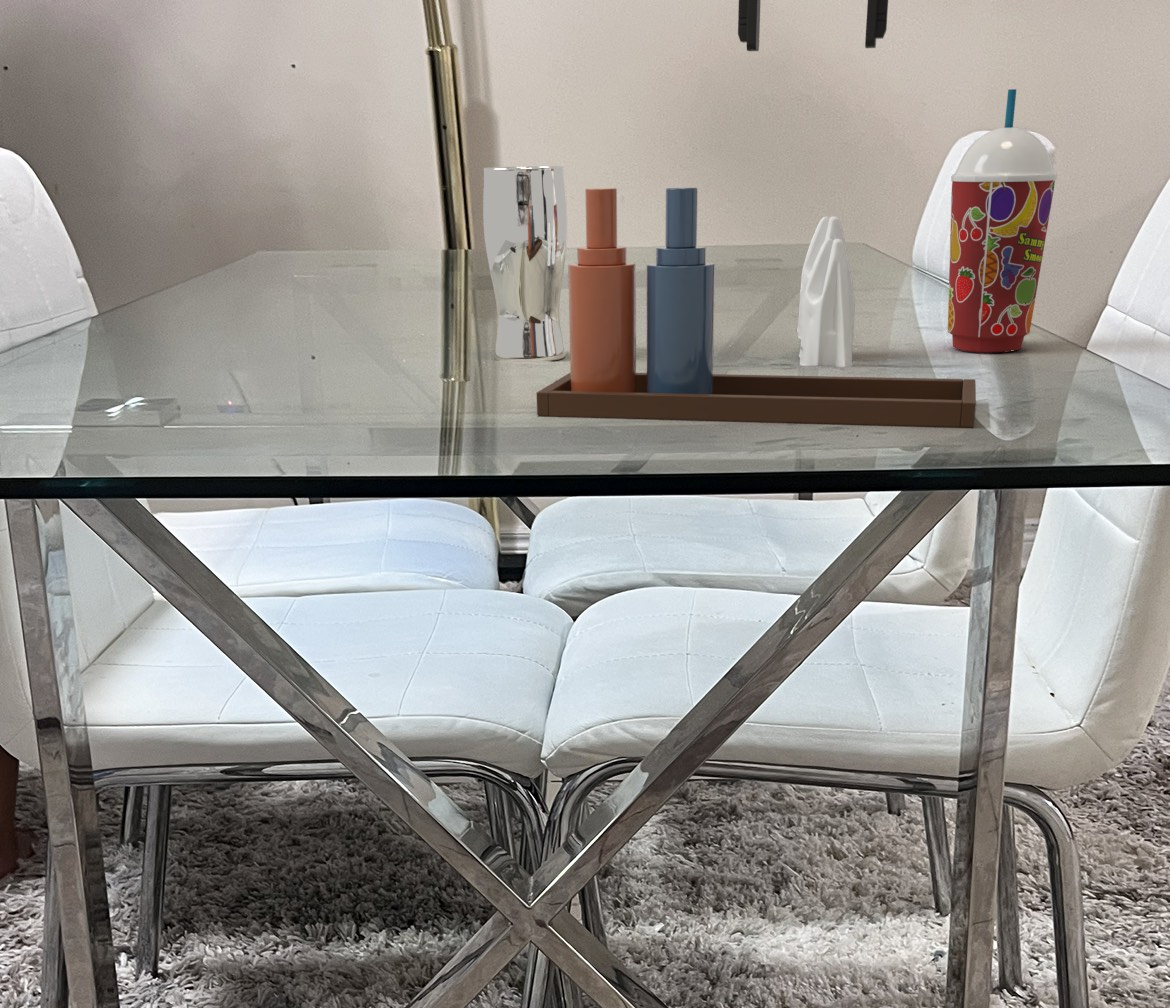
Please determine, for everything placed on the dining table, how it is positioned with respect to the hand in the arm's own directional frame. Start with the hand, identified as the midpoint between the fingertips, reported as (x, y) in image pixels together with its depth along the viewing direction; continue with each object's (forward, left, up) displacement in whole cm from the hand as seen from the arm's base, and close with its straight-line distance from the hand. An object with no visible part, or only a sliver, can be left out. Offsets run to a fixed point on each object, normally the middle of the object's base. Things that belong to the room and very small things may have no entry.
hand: (811, 49), depth 102 cm
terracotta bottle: (+11, +22, -22) cm, 33 cm away
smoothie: (-15, -14, -23) cm, 30 cm away
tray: (0, +22, -23) cm, 32 cm away
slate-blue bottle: (+5, +22, -22) cm, 32 cm away
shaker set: (-2, -4, -23) cm, 23 cm away
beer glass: (+23, -4, -23) cm, 33 cm away
